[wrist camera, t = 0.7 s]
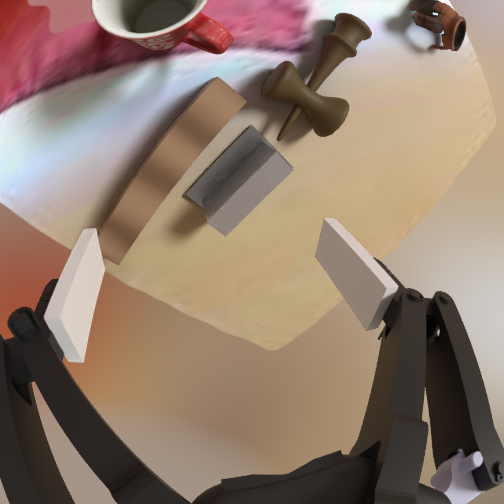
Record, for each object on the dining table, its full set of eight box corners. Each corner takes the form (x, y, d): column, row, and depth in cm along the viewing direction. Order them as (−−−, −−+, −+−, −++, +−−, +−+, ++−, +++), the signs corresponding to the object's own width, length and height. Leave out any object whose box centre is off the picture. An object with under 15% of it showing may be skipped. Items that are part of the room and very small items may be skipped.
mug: (108, 34, 21) (67, 9, 10) (161, -19, 18) (154, -70, 7) (186, 88, 28) (190, 88, 17) (239, 35, 25) (276, 8, 14)
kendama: (368, 47, 29) (299, 155, 36) (316, 5, 24) (238, 119, 31) (394, 45, 24) (319, 166, 31) (338, -6, 19) (249, 124, 26)
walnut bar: (125, 240, 36) (118, 265, 32) (101, 226, 34) (91, 250, 30) (236, 98, 30) (247, 101, 25) (211, 78, 28) (217, 76, 23)
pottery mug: (428, -6, 22) (471, 13, 19) (424, 35, 31) (462, 55, 27) (397, -9, 20) (449, 10, 17) (394, 41, 29) (440, 63, 25)
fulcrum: (185, 193, 35) (186, 213, 30) (251, 124, 32) (264, 132, 27) (229, 226, 39) (237, 250, 34) (291, 166, 36) (309, 181, 31)
